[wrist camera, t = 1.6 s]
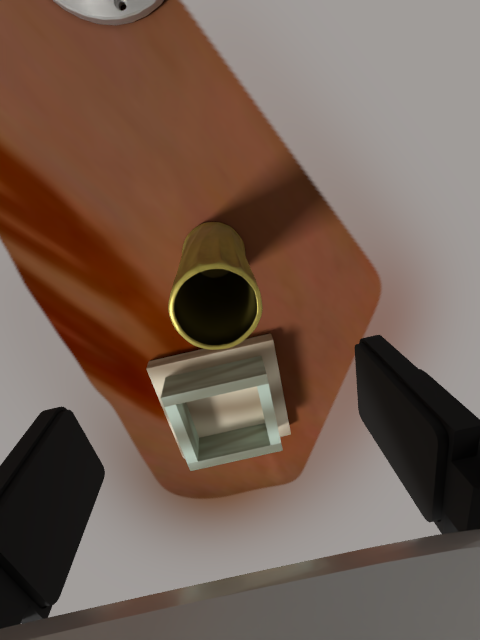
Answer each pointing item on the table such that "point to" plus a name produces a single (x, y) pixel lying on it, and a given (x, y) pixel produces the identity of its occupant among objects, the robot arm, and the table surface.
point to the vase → (214, 289)
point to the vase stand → (223, 401)
